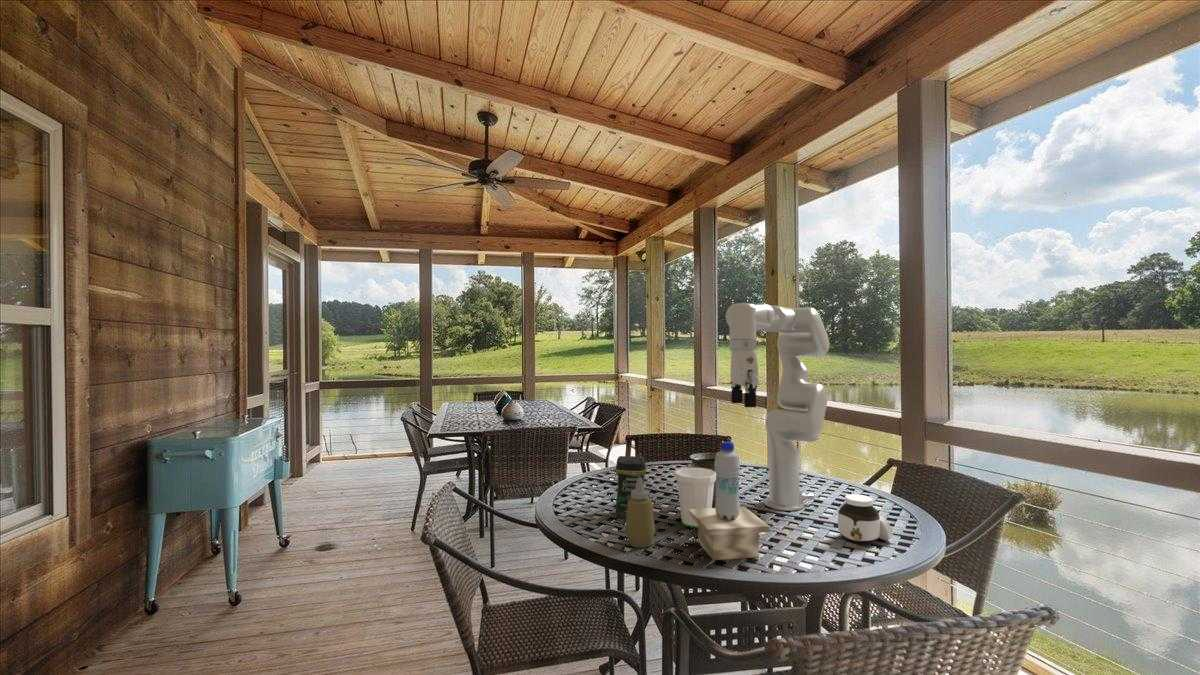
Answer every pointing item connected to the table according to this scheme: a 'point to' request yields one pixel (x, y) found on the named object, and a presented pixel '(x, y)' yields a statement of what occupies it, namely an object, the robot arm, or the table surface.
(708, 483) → the cup
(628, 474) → the coffee jar
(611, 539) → the table surface
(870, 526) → the spread jar
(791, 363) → the robot arm
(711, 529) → the stand
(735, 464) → the bottle
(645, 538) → the squeeze bottle
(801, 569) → the table surface
